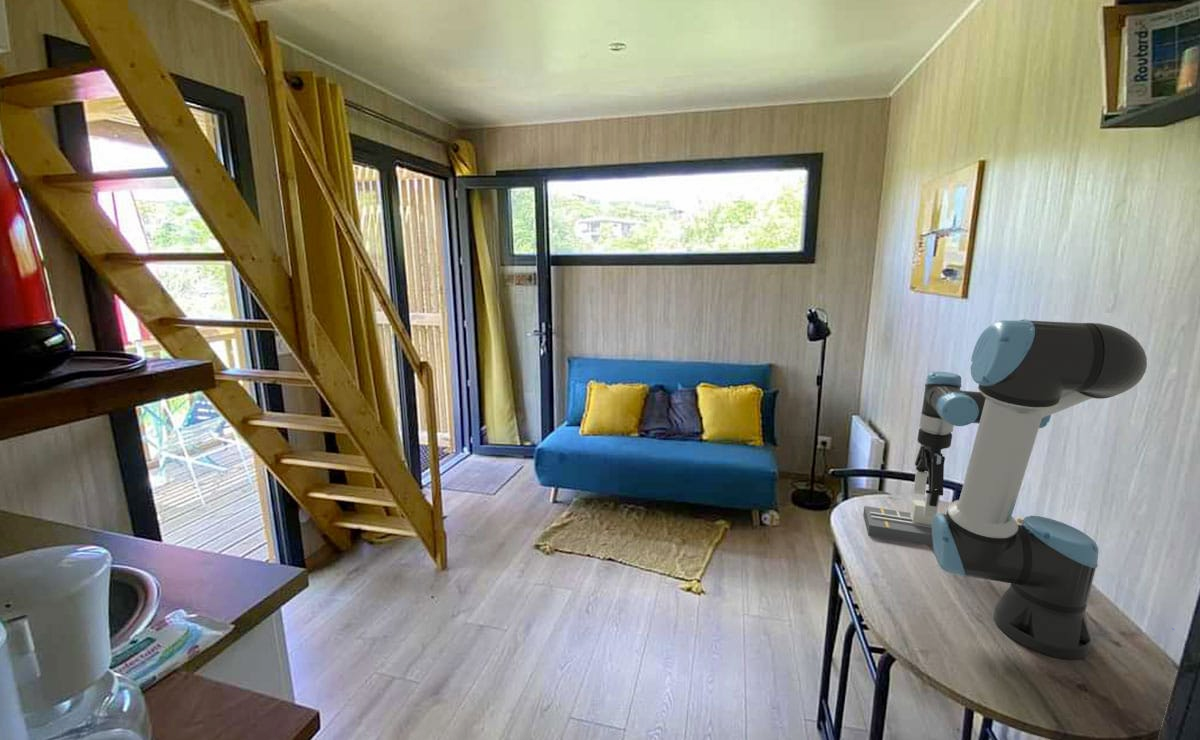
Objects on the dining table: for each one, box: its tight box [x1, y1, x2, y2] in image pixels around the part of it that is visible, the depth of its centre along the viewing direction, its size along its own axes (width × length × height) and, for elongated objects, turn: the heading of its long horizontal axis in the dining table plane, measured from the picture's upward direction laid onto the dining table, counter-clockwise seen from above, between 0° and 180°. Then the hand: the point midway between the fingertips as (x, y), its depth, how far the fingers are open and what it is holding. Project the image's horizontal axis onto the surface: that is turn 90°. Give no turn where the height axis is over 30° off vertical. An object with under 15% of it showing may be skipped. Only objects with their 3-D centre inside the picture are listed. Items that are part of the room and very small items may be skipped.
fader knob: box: [910, 499, 933, 525], centre depth 144 cm, size 4×5×6 cm
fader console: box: [862, 505, 933, 547], centre depth 147 cm, size 12×17×4 cm
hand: (924, 504), depth 144 cm, fingers open, 13 cm apart
